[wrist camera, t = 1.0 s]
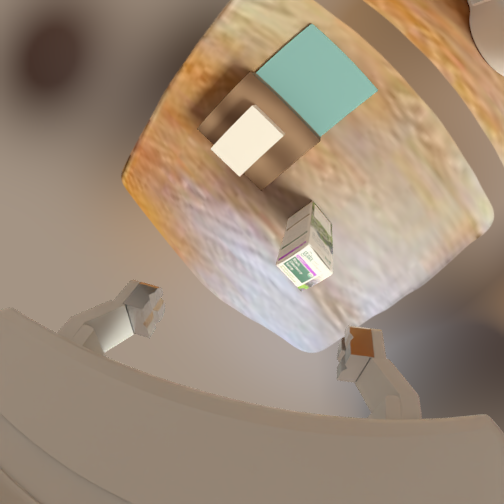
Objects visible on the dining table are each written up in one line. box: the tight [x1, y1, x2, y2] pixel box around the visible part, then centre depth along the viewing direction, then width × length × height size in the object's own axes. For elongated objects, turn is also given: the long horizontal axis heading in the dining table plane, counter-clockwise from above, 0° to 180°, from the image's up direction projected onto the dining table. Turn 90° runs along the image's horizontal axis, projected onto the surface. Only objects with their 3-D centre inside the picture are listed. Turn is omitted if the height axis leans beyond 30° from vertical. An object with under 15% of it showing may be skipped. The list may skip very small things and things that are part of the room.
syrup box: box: [276, 202, 333, 291], centre depth 43 cm, size 6×6×14 cm
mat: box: [256, 24, 378, 137], centre depth 35 cm, size 12×14×1 cm
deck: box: [197, 72, 320, 191], centre depth 40 cm, size 12×14×4 cm
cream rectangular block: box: [211, 104, 285, 177], centre depth 39 cm, size 9×6×2 cm, turn 136°
